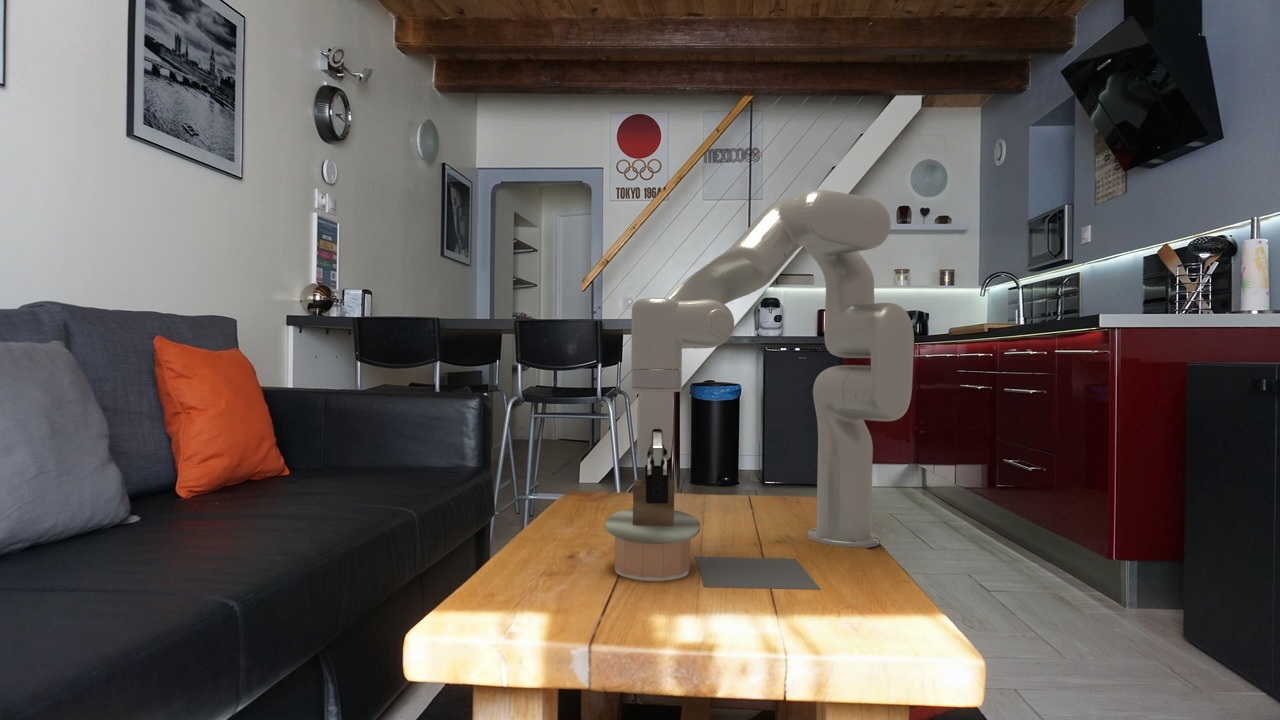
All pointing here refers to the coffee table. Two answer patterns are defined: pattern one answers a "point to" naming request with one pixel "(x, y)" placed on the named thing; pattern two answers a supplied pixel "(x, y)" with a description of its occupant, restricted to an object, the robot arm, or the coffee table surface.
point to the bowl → (652, 560)
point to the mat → (754, 573)
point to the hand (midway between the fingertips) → (656, 496)
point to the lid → (652, 520)
